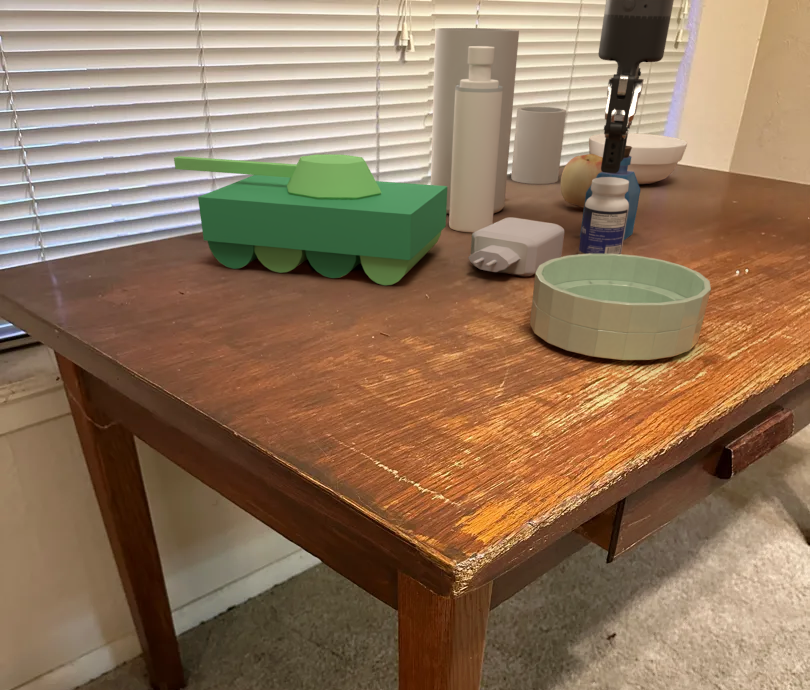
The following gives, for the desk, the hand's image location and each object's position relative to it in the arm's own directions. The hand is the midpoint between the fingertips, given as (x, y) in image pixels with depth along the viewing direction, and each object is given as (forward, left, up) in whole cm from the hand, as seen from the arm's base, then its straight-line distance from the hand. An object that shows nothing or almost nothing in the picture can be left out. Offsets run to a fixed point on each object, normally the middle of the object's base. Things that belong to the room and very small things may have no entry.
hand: (612, 166), depth 96 cm
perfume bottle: (+4, -13, -12) cm, 18 cm away
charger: (+8, +12, -12) cm, 19 cm away
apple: (+14, -28, -12) cm, 33 cm away
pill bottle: (0, 0, -12) cm, 12 cm away
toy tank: (+33, +23, -12) cm, 42 cm away
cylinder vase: (+30, -16, -12) cm, 36 cm away
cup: (+32, -46, -12) cm, 57 cm away
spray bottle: (+23, -5, -12) cm, 26 cm away
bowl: (+16, -56, -12) cm, 59 cm away
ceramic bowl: (-12, +26, -12) cm, 31 cm away
